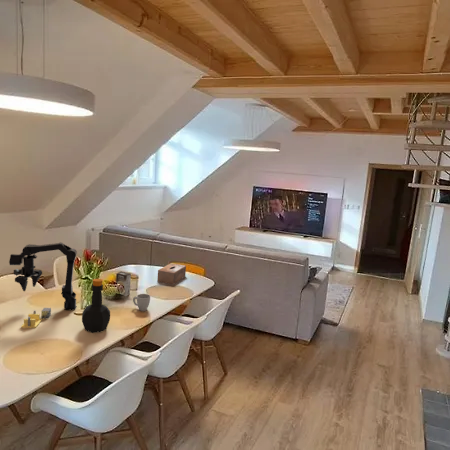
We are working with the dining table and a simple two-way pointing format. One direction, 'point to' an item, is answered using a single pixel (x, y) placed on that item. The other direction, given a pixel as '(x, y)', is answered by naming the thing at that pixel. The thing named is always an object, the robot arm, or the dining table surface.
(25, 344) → the dining table surface
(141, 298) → the mug
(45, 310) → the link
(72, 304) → the robot arm
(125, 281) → the coffee box
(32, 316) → the keeper
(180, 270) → the tissue box cover
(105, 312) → the bottle
